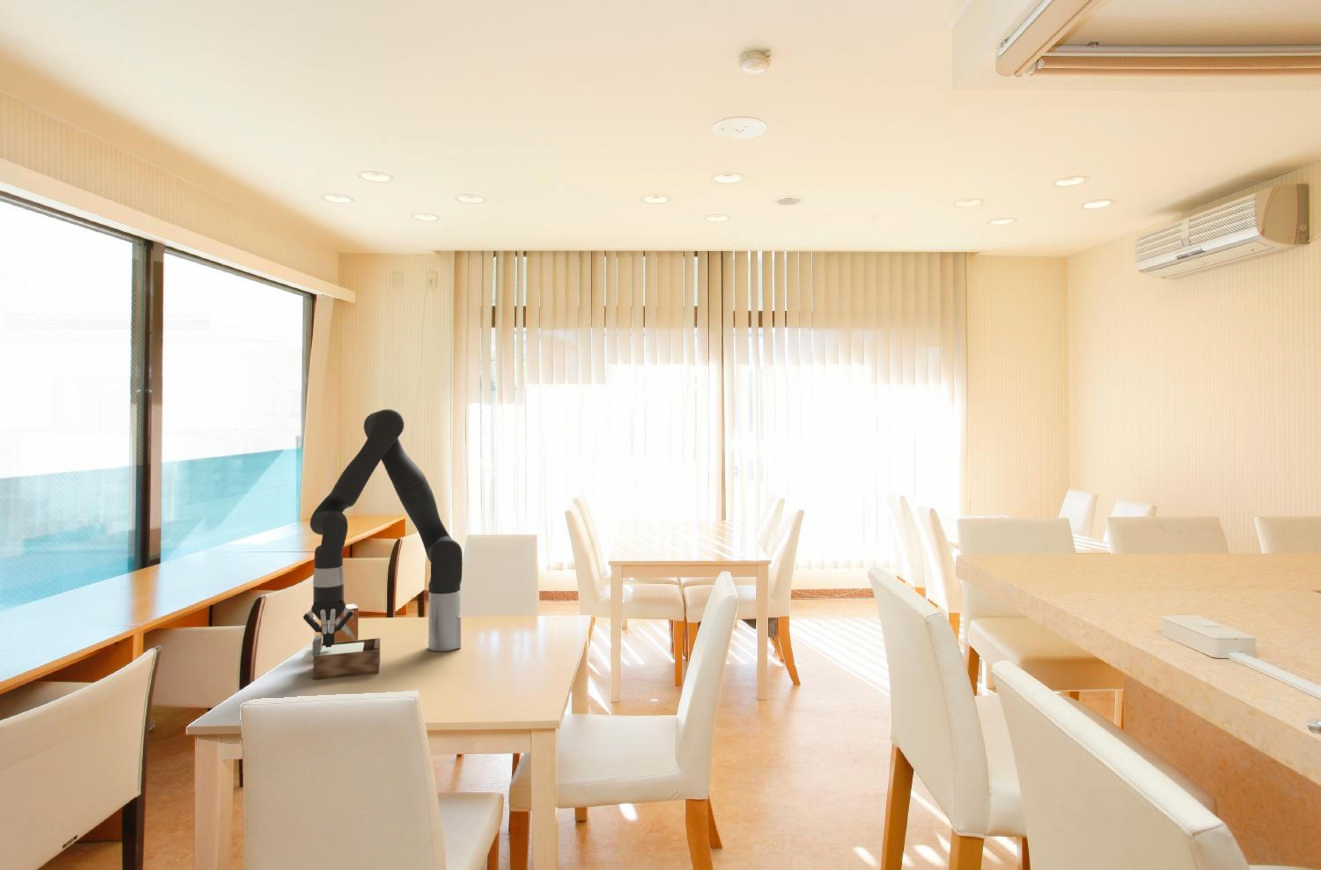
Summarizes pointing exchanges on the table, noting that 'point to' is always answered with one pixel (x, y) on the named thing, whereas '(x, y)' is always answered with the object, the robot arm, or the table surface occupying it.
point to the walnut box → (349, 661)
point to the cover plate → (330, 648)
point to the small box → (347, 626)
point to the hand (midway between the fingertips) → (328, 646)
